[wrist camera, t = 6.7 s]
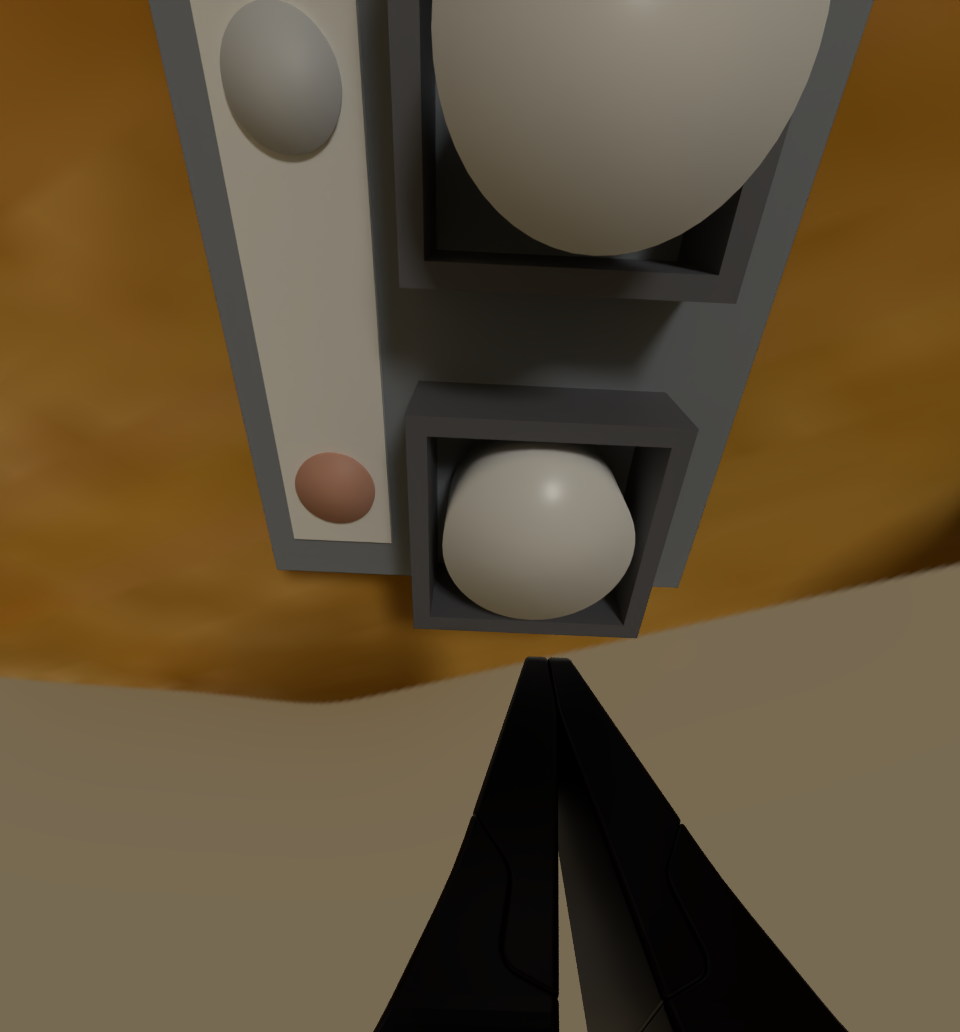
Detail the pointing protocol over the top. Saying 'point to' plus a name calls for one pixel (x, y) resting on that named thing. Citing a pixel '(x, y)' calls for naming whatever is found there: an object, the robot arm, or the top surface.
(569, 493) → the button end
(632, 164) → the button mid
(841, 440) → the top surface
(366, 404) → the button board
